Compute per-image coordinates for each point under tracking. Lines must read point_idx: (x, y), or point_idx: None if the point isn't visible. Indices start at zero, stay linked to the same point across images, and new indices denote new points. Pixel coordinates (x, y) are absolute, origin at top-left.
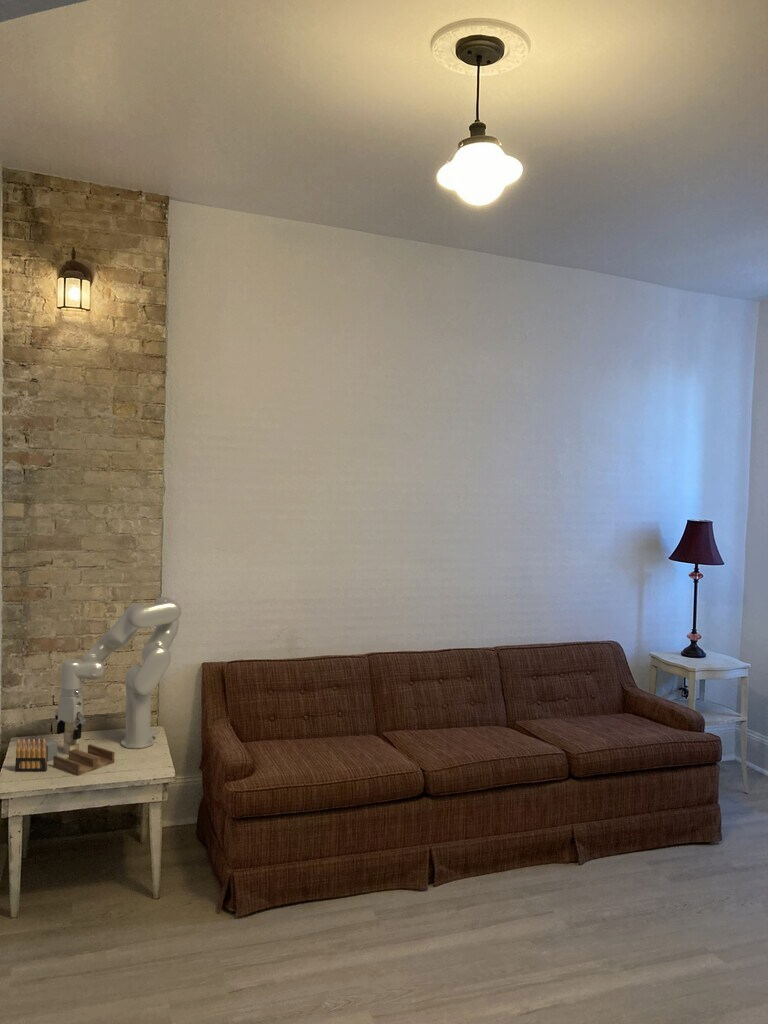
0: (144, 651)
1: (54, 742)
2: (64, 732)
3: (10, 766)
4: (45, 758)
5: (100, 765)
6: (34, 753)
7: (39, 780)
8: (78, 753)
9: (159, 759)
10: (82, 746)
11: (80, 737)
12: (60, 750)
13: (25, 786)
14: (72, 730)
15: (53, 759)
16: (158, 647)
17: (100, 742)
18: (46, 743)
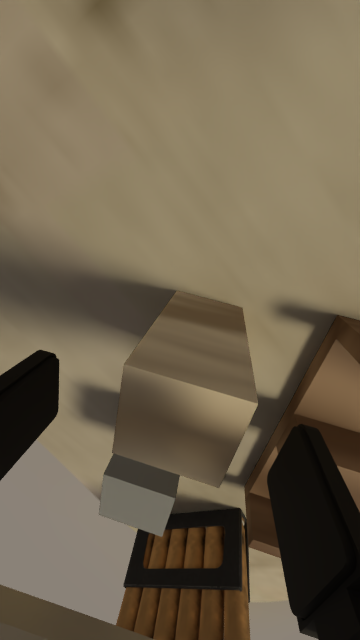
0: None
1: (150, 493)
2: (113, 446)
3: (98, 498)
4: (247, 592)
5: None
6: (198, 631)
7: (279, 571)
8: None
9: None
10: (188, 198)
11: (316, 435)
12: (120, 319)
13: (266, 598)
14: (137, 380)
15: (247, 524)
16: None
17: (274, 2)
18: (120, 509)
